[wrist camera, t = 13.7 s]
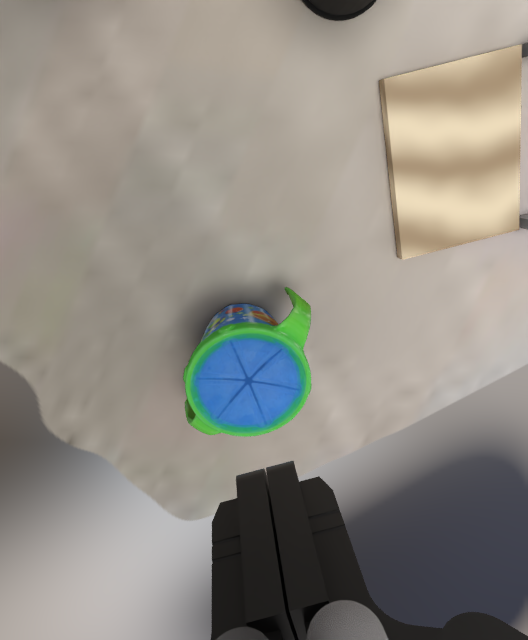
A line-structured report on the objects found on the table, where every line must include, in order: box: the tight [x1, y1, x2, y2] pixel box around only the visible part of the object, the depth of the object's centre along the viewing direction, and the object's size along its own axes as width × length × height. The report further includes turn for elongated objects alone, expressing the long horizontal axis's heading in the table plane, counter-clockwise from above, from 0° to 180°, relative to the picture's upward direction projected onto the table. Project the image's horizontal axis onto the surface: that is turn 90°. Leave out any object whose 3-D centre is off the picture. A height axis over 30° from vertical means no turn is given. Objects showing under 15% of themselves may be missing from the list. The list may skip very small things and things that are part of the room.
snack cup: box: [183, 287, 311, 436], centre depth 40 cm, size 16×10×10 cm
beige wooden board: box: [379, 44, 522, 260], centre depth 39 cm, size 16×12×1 cm
